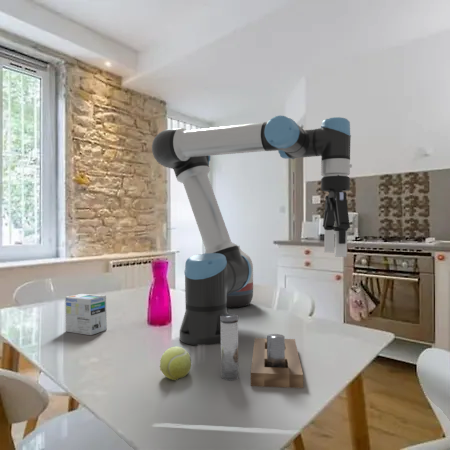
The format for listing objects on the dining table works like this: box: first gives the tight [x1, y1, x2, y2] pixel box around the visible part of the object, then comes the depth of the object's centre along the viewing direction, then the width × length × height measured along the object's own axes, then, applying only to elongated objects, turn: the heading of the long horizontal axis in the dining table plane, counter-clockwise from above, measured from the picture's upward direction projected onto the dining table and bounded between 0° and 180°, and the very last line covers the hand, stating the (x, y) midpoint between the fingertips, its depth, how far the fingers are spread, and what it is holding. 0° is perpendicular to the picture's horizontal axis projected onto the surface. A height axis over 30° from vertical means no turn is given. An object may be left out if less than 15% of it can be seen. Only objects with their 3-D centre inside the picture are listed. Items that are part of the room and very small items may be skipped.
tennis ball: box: [159, 346, 192, 381], centre depth 76 cm, size 6×7×7 cm
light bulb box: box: [64, 293, 108, 336], centre depth 112 cm, size 11×7×11 cm, turn 65°
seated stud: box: [266, 333, 286, 368], centre depth 76 cm, size 4×4×8 cm
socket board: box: [250, 337, 304, 389], centre depth 81 cm, size 10×22×3 cm, turn 173°
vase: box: [227, 245, 254, 309], centre depth 146 cm, size 17×17×24 cm
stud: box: [220, 313, 239, 381], centre depth 75 cm, size 4×4×13 cm
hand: (334, 254), depth 99 cm, fingers open, 13 cm apart
